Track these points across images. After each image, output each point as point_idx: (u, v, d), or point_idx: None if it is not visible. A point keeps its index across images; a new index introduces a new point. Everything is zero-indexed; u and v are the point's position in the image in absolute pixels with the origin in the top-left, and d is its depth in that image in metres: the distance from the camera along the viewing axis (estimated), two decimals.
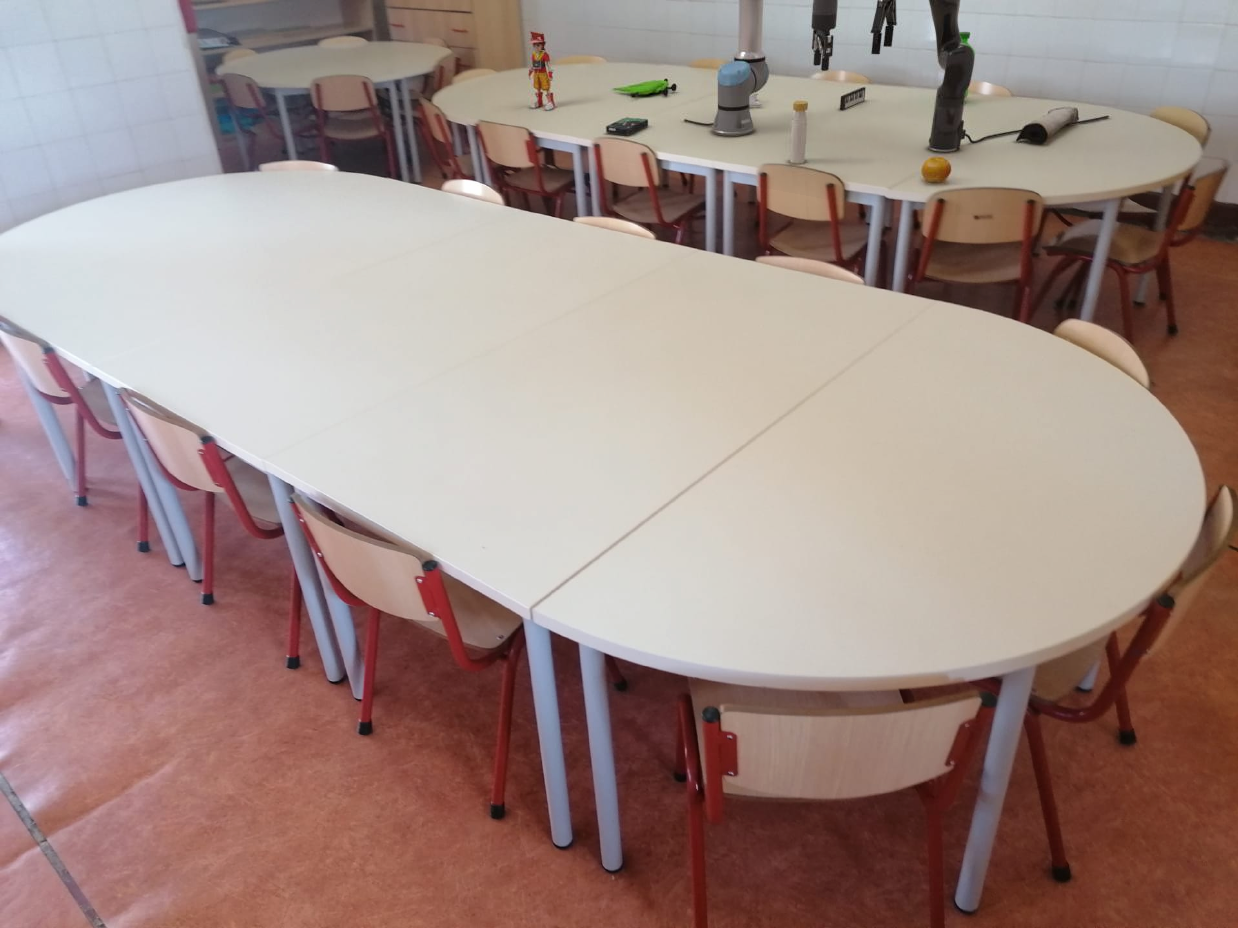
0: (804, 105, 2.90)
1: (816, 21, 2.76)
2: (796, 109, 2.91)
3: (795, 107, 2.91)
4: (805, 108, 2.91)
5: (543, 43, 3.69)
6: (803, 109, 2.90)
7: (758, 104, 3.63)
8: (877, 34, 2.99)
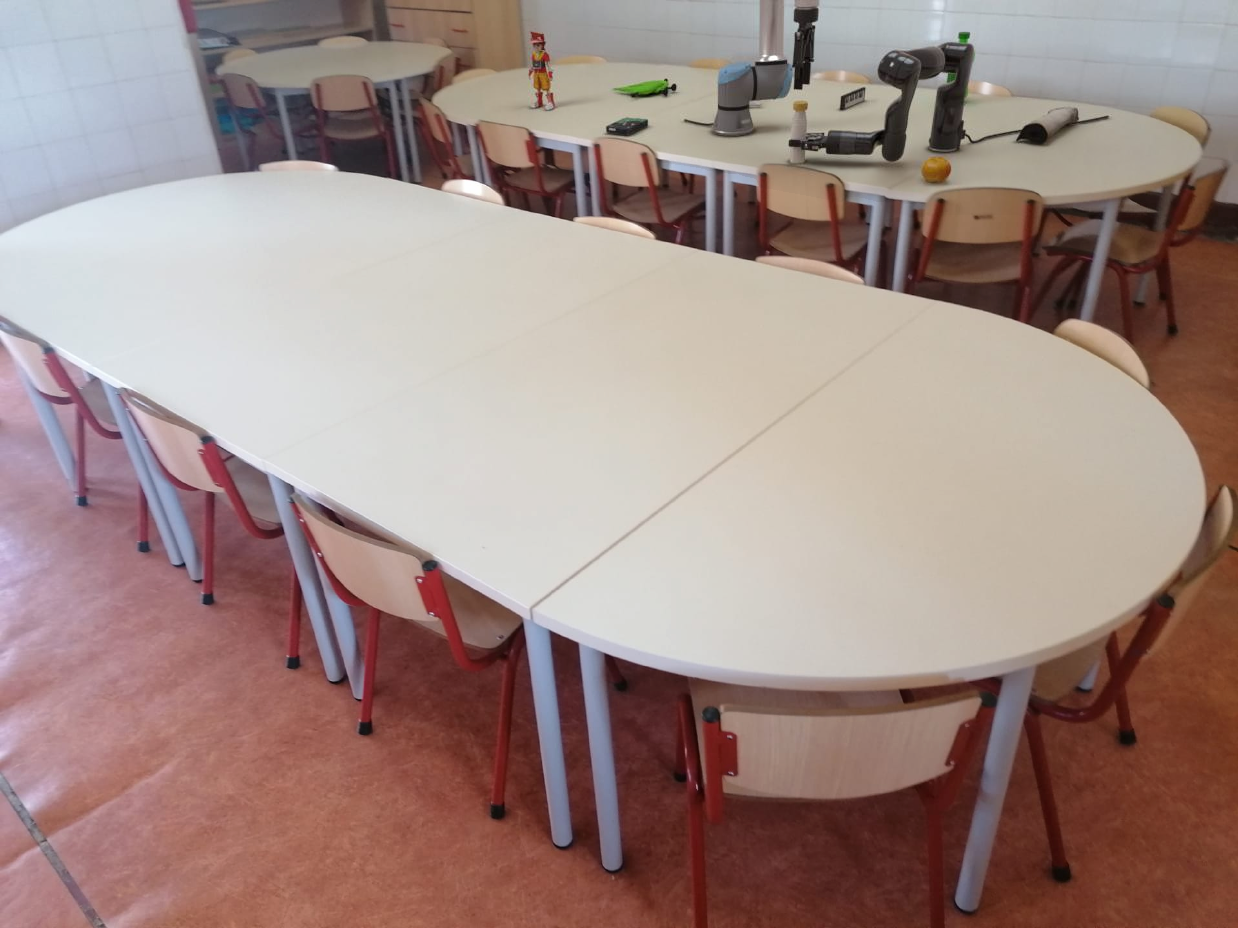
0: (804, 105, 2.90)
1: None
2: (796, 109, 2.91)
3: (795, 107, 2.91)
4: (805, 108, 2.91)
5: (543, 43, 3.69)
6: (803, 109, 2.90)
7: (758, 104, 3.63)
8: None
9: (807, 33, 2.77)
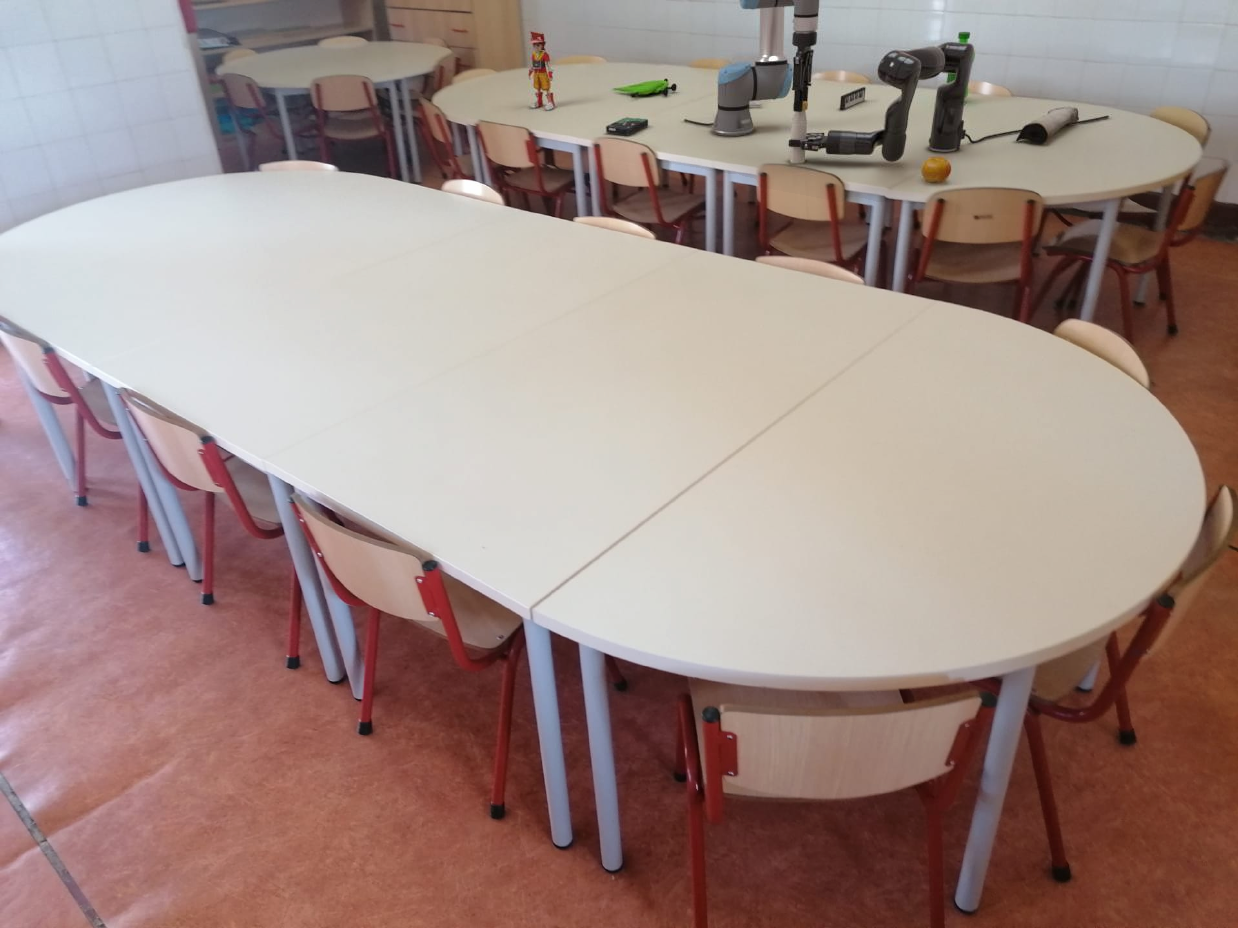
0: (804, 105, 2.90)
1: None
2: None
3: None
4: (805, 108, 2.91)
5: (543, 43, 3.69)
6: (803, 109, 2.90)
7: (758, 104, 3.63)
8: None
9: (806, 56, 2.81)
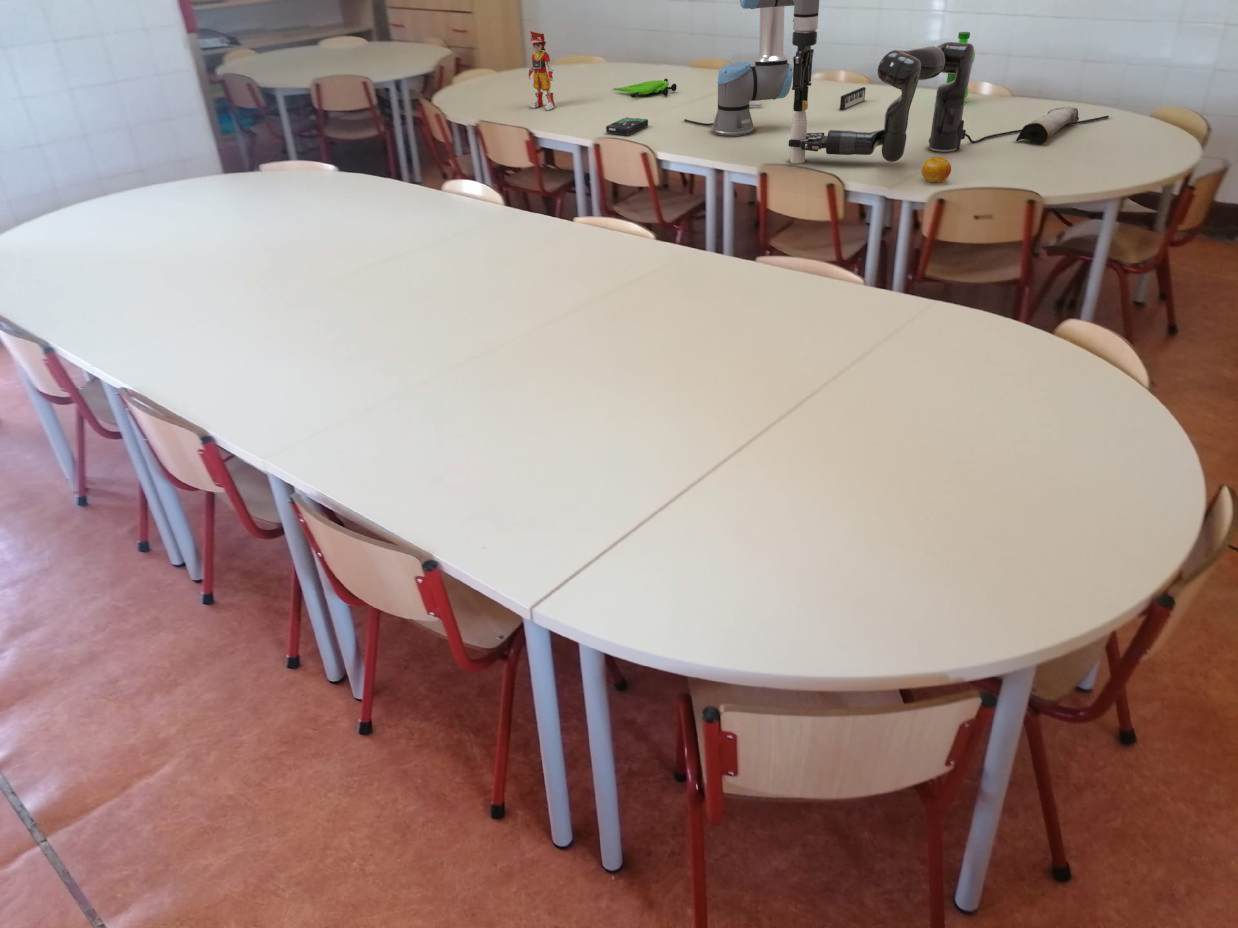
0: None
1: None
2: (806, 108, 2.91)
3: (806, 106, 2.90)
4: None
5: (543, 43, 3.69)
6: None
7: (758, 104, 3.63)
8: None
9: (806, 56, 2.81)
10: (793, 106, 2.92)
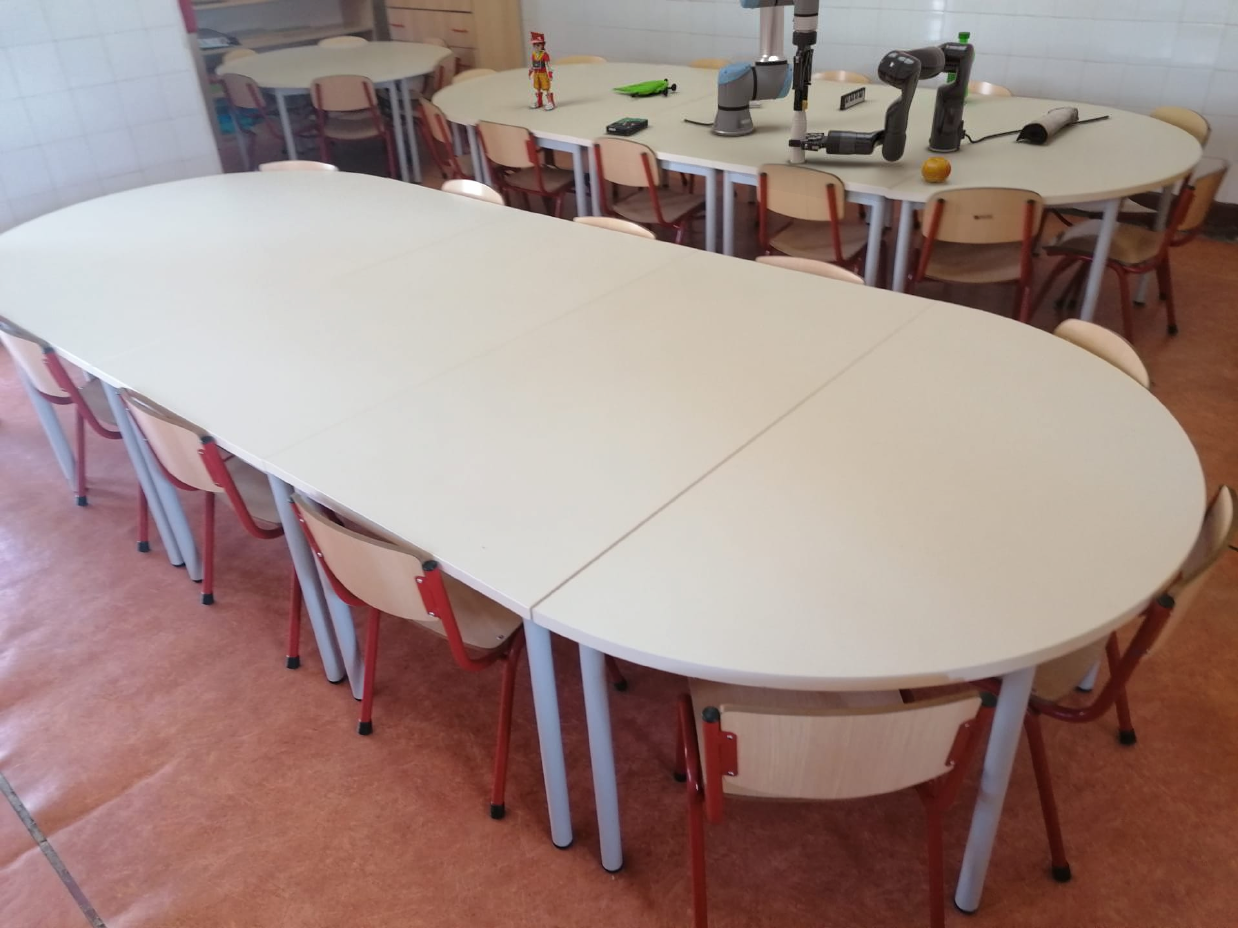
0: None
1: None
2: None
3: None
4: None
5: (543, 43, 3.69)
6: None
7: (758, 104, 3.63)
8: None
9: (806, 56, 2.81)
10: None
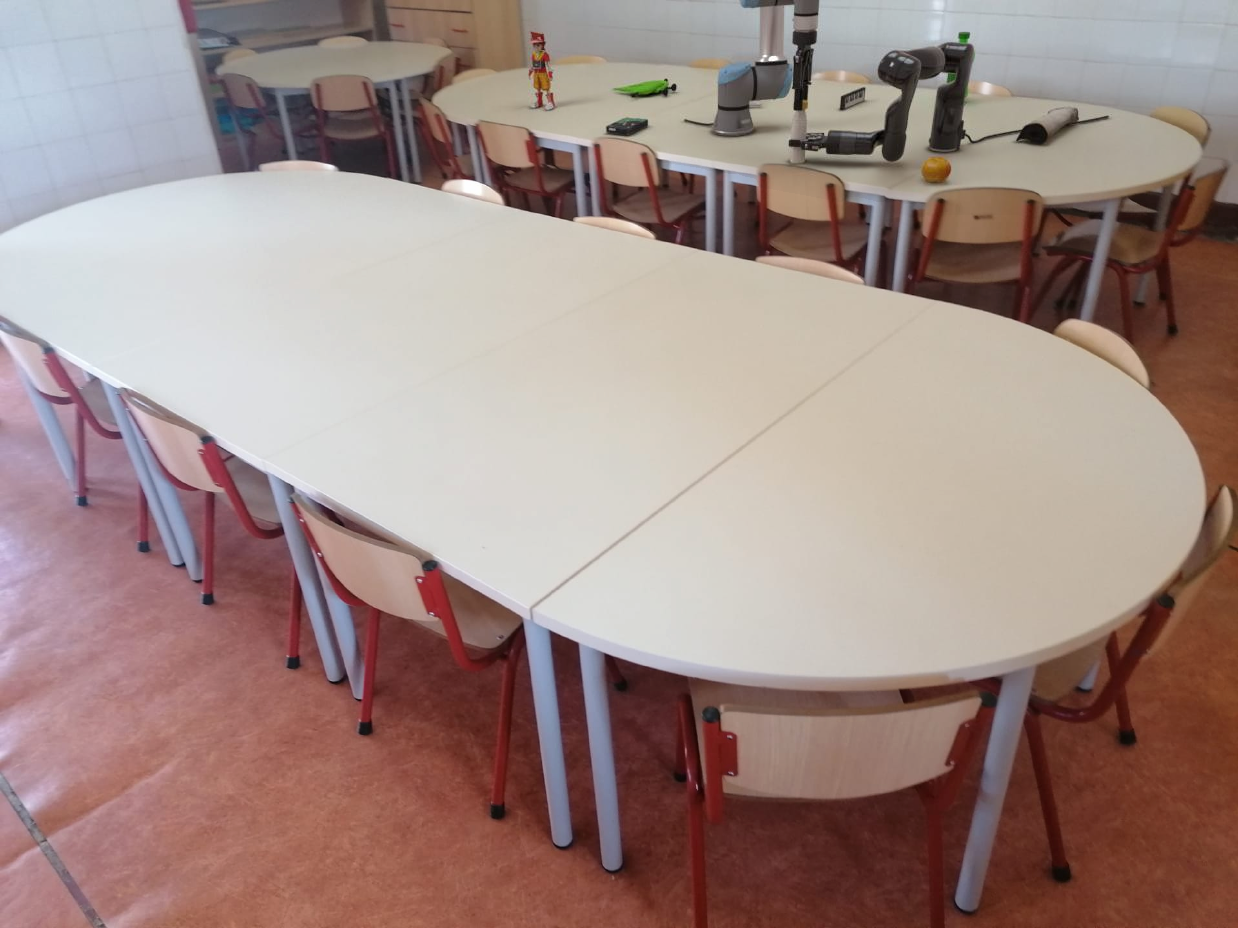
0: None
1: None
2: (793, 107, 2.92)
3: None
4: None
5: (543, 43, 3.69)
6: None
7: (758, 104, 3.63)
8: None
9: (806, 55, 2.81)
10: None
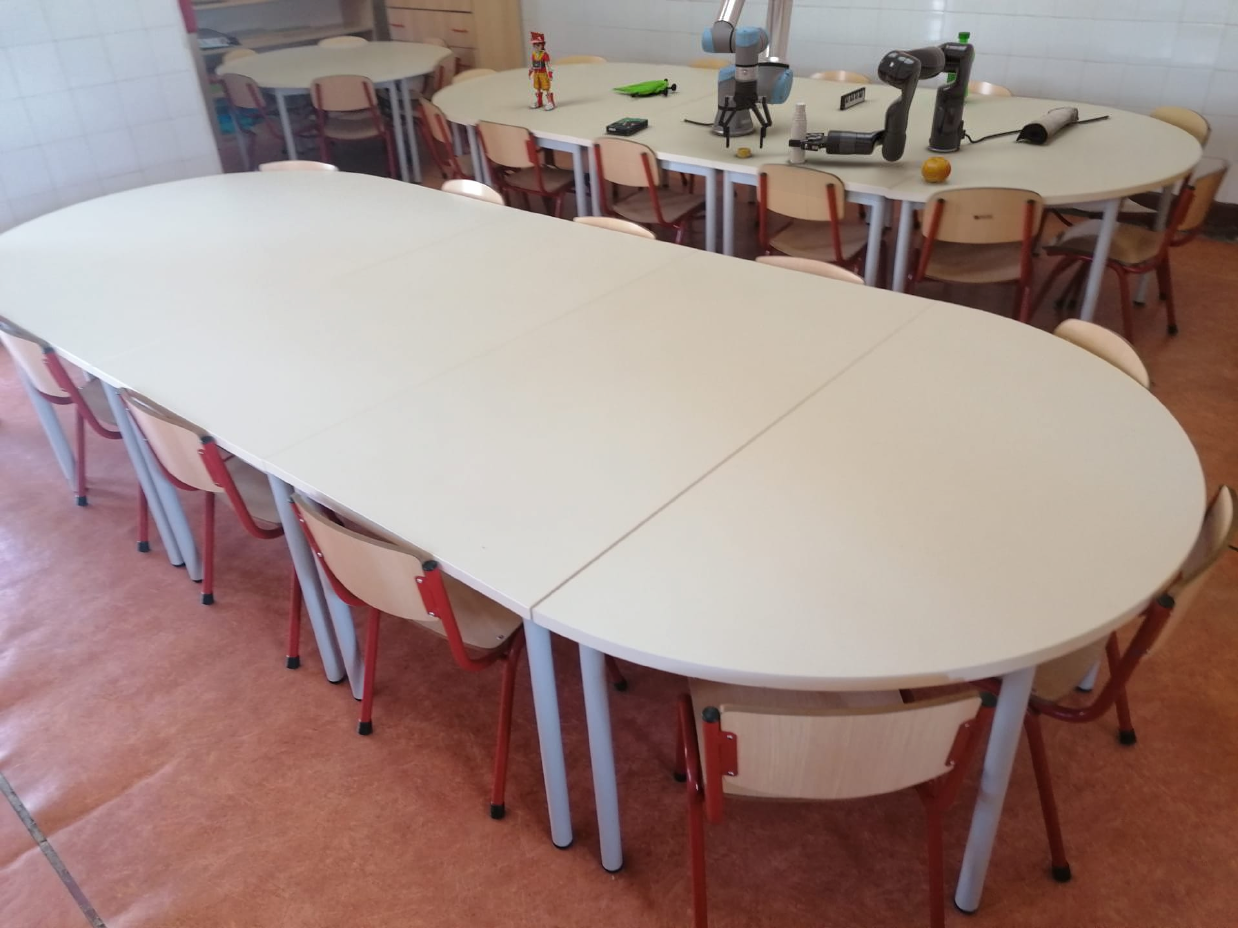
0: (750, 151, 3.09)
1: None
2: (745, 156, 3.08)
3: (744, 154, 3.08)
4: None
5: (543, 43, 3.69)
6: (750, 154, 3.09)
7: (758, 104, 3.63)
8: (723, 128, 3.07)
9: None
10: None
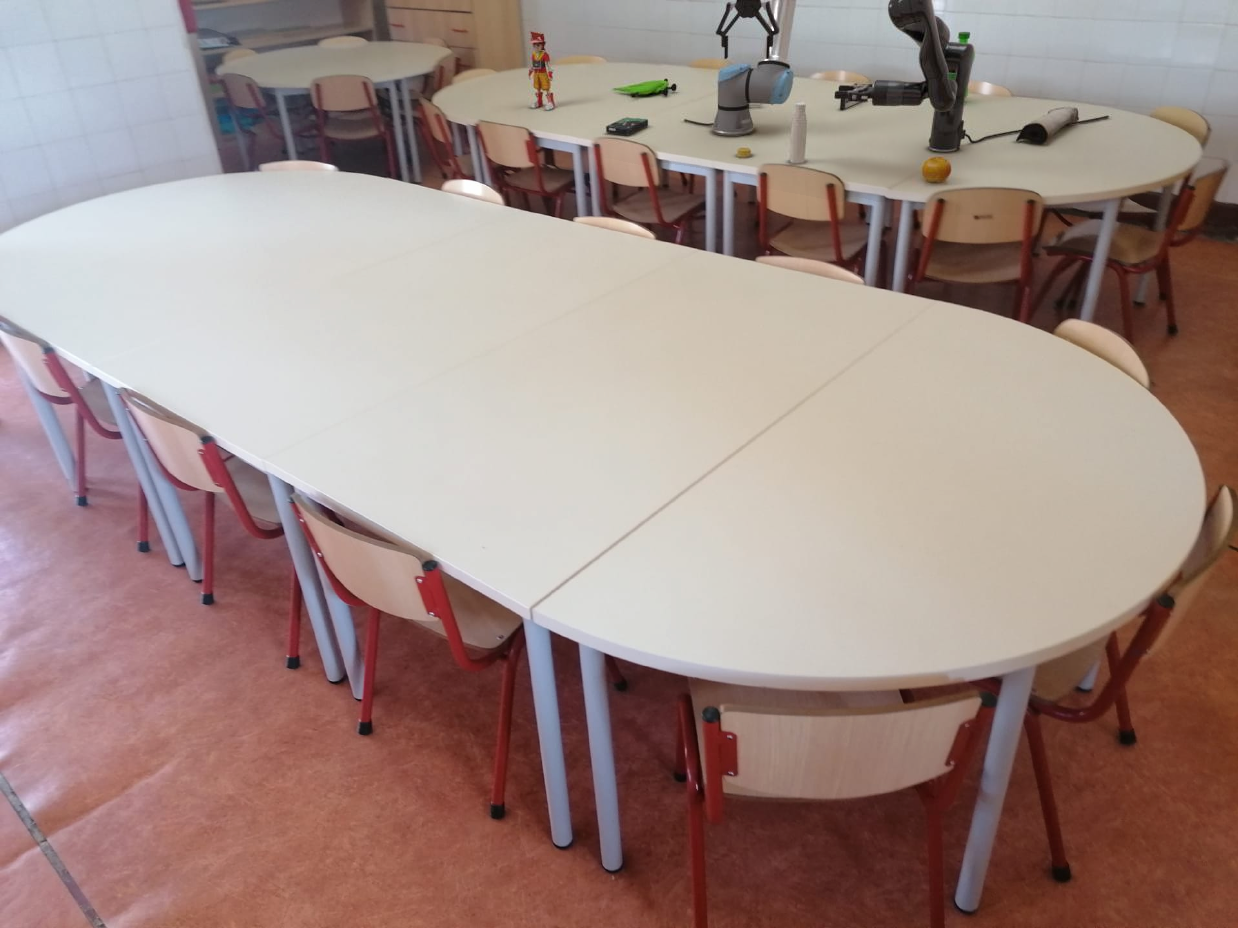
0: (750, 151, 3.09)
1: None
2: (745, 156, 3.08)
3: (744, 154, 3.08)
4: None
5: (543, 43, 3.69)
6: (750, 154, 3.09)
7: (758, 104, 3.63)
8: (721, 37, 2.91)
9: None
10: None
